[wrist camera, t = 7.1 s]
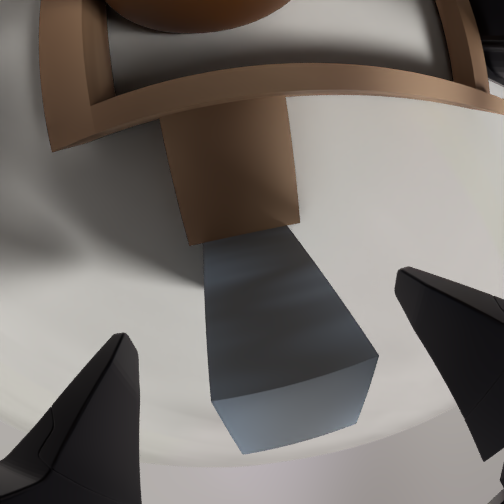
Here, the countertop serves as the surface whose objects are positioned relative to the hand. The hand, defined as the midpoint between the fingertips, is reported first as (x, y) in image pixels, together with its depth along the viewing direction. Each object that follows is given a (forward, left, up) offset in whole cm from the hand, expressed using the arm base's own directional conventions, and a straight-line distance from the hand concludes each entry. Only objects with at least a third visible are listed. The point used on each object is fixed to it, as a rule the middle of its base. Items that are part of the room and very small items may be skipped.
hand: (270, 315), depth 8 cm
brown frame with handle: (-4, -10, -3) cm, 11 cm away
